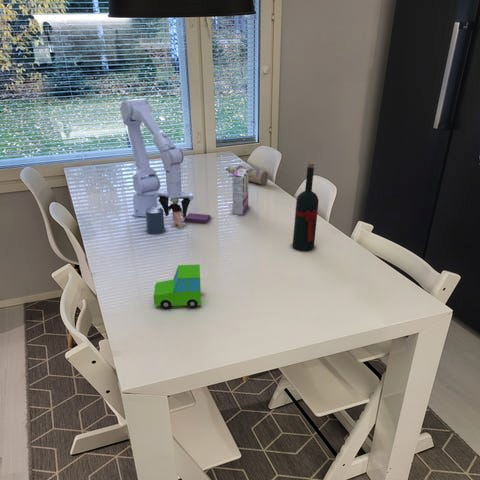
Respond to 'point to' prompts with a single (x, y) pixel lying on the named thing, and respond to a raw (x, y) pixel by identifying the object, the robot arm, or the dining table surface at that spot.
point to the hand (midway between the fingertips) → (175, 216)
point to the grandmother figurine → (176, 212)
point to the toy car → (180, 288)
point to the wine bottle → (306, 215)
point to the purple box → (197, 218)
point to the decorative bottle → (252, 174)
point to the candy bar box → (240, 191)
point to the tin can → (155, 220)
